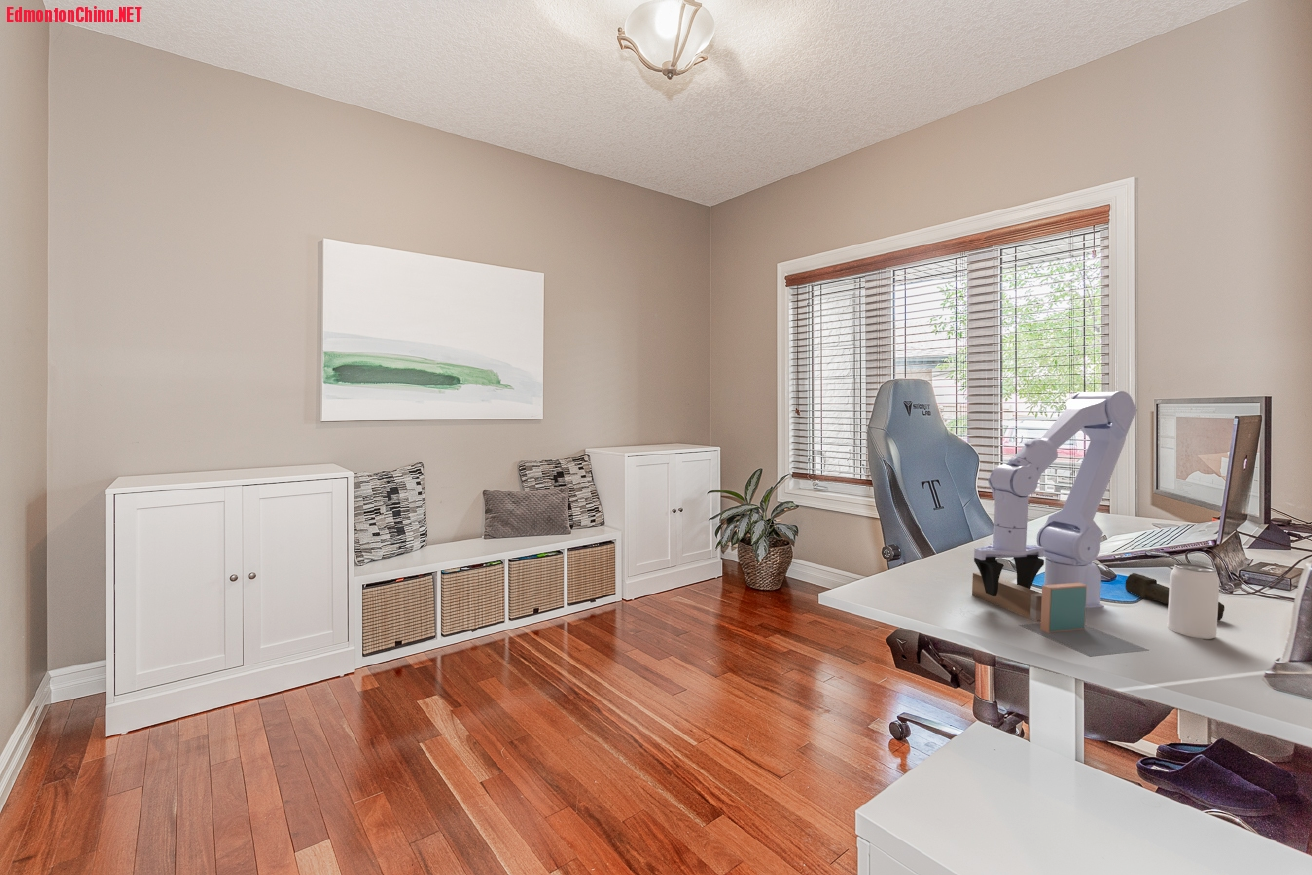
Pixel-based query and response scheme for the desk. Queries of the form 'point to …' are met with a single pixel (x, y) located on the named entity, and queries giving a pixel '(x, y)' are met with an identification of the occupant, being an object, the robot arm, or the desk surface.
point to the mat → (1088, 641)
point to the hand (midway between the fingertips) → (1007, 593)
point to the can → (1193, 600)
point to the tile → (1063, 607)
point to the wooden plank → (1011, 597)
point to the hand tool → (1154, 590)
